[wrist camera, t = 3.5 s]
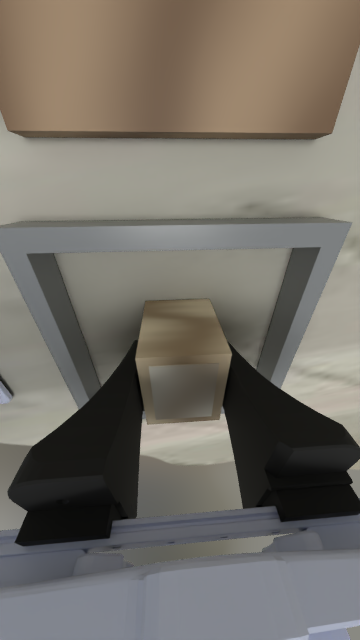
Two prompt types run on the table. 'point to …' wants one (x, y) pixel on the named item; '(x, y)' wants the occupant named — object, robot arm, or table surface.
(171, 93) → the walnut board
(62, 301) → the grey bin
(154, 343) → the maple block
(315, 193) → the table surface
